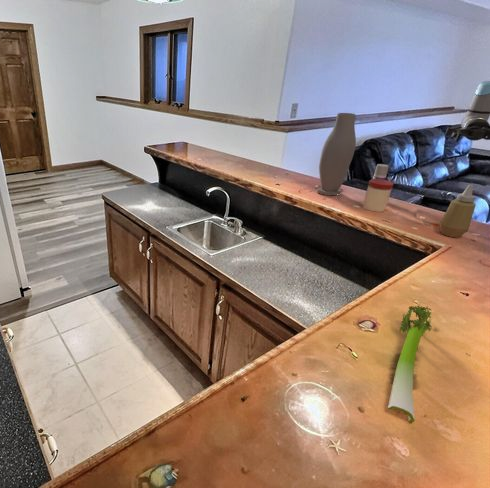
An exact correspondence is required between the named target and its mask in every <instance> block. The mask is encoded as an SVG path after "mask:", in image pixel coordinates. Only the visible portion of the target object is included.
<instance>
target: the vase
mask: <svg viewBox="0 0 490 488" xmlns="http://www.w3.org/2000/svg"><path fill="white" fill-rule="evenodd" d="M355 122H356V114H355V113H352V112H338V113H337V114H336V119H335V123H334V125H333V128H332V130H331V132H330V133H329V135H328V136H327V138H326V139H325V141H324V143H323V147H322V149H321V154H320V159H319V165H318V174H319V181H320V186H319V187H317V189H316V193H317V192H318V194H319V193H320V195H323V194H324V195H323V196H330V195H336V196H338V195H337V194H340V193H341V194H342V189H340V188H342V185H343V183H344V181H345V178H346V176H347V173H348V171H349V168H350V166H351V163H352V160H353V157H354V154H355V152H356V146H357V137H356V136H357V135H356V130H355V129H356V128H355V126H356V125H355V124H356V123H355ZM341 194H340V195H341Z"/></svg>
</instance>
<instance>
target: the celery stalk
mask: <svg viewBox="0 0 490 488" xmlns="http://www.w3.org/2000/svg"><path fill="white" fill-rule="evenodd" d="M431 311H432V308H430V307H428V306H426V307H425V306H423V305H421V306H420V305H417V306H414V305H413V306H412V305H410V306H408V310H407V312H406V314H405V313H403V314H402V317H403V318H402V321H401V324H400V326H399V329H398V330H399V332H401V333H403V334H405V333H407V335H406V337H405V340H404V343H403V346H402V349H401V352H400V355H399V358H398V361H397V363H396V368H395V373H394V378H393V382H392V386H391V391H390V396H389V400H388V405H387V409H388V410H390V411H392V410H395V409H396V410H398V411H401V412H403V413H406V414H407V415H408V416H407V417H408V422H409V424H413V423H414V422H415V420H416V418H415V406H414V405H415V404H414V395H413V390H414V372H415V371H414V370H415V363H416V356H417V351H418V347H419V344H420V341H421V338H422V337H423V336H424V334H425V333H426V332H427V331H428V332H430V331H432V330H433V327H432V325H431V323H432V316H431V315H432V312H431ZM412 313H415V317H416V318H417V319H411V317H412ZM411 324H412V325H413V326H412V325H411Z"/></svg>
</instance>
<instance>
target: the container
mask: <svg viewBox="0 0 490 488" xmlns="http://www.w3.org/2000/svg"><path fill="white" fill-rule="evenodd" d="M389 168H390V165H389V164H384V163H377V165H376V167H375V170H374V174H373V176H372V179H382V180H387V175H388V171H389Z"/></svg>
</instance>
